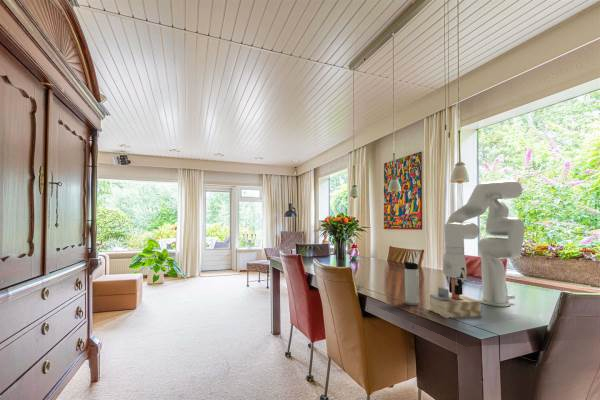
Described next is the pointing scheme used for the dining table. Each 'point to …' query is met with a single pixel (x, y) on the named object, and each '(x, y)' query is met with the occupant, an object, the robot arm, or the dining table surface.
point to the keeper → (441, 294)
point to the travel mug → (411, 283)
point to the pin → (454, 296)
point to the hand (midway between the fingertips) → (455, 293)
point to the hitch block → (456, 307)
